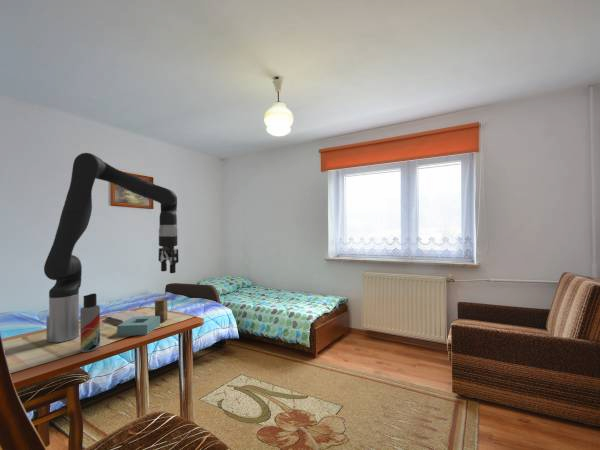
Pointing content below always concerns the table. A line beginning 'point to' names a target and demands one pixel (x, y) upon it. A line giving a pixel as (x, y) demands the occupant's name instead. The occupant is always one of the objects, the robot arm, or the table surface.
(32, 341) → the table surface
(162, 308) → the peg
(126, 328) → the socket block
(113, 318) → the washcloth
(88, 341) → the lotion bottle
